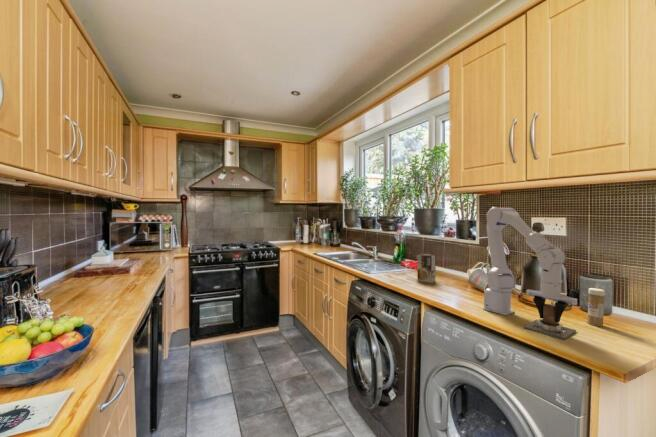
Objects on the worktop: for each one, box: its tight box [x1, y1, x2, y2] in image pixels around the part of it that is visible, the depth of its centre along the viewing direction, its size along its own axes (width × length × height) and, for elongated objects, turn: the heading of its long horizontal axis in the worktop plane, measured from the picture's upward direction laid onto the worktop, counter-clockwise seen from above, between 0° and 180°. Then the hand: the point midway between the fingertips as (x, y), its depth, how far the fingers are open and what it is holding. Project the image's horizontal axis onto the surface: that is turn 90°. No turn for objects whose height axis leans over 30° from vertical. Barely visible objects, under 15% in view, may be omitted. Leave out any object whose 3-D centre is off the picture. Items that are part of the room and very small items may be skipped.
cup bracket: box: [523, 318, 577, 341], centre depth 103 cm, size 12×12×2 cm
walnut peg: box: [542, 303, 557, 326], centre depth 103 cm, size 4×4×7 cm
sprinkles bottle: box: [586, 287, 606, 327], centre depth 108 cm, size 5×5×14 cm
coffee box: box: [416, 253, 437, 284], centre depth 175 cm, size 9×6×16 cm
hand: (549, 319), depth 103 cm, fingers closed on walnut peg, 4 cm apart
